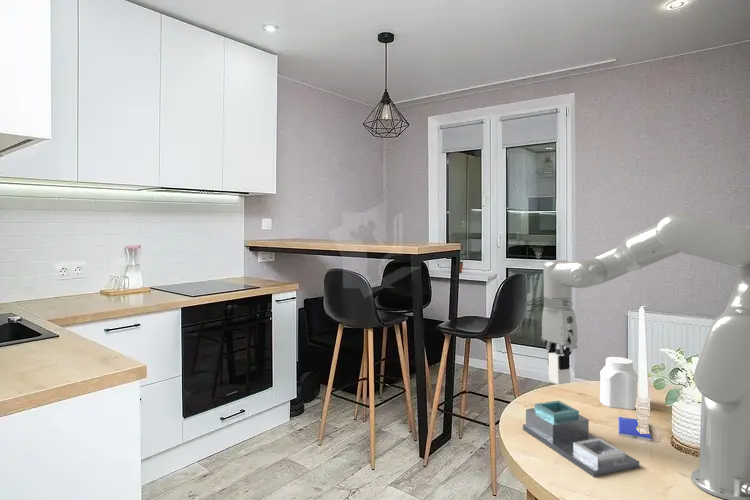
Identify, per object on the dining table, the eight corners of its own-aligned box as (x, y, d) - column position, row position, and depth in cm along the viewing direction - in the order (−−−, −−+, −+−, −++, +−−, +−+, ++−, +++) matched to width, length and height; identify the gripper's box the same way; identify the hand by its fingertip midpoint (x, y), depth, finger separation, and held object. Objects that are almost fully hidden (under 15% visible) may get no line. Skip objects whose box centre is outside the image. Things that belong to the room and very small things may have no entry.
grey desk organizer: (639, 467, 116) (639, 435, 115) (593, 477, 111) (594, 444, 111) (562, 423, 142) (562, 397, 142) (523, 429, 138) (523, 403, 138)
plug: (570, 382, 132) (569, 350, 132) (558, 384, 131) (557, 352, 131) (560, 378, 136) (559, 347, 136) (549, 380, 135) (548, 348, 134)
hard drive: (618, 416, 145) (618, 432, 134) (648, 421, 141) (651, 437, 130) (618, 421, 145) (618, 437, 134) (648, 426, 141) (651, 443, 130)
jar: (601, 406, 155) (601, 362, 155) (598, 396, 164) (599, 354, 164) (640, 411, 151) (641, 365, 151) (635, 400, 160) (636, 357, 160)
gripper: (590, 306, 126) (590, 373, 126) (549, 299, 142) (550, 358, 142) (567, 308, 124) (568, 376, 124) (528, 300, 140) (529, 361, 140)
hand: (558, 366), depth 133 cm, fingers closed on plug, 4 cm apart
